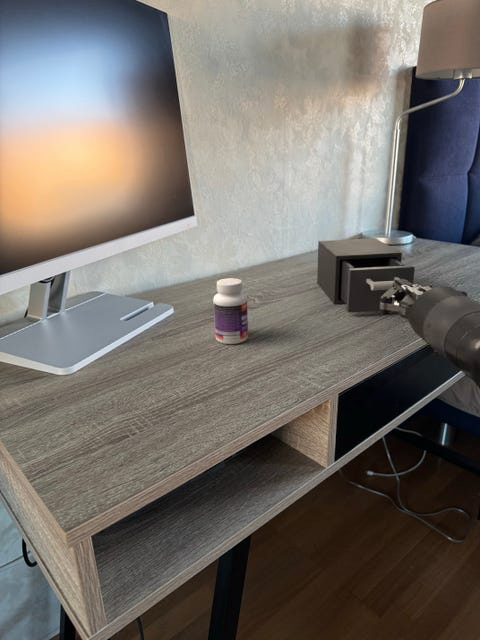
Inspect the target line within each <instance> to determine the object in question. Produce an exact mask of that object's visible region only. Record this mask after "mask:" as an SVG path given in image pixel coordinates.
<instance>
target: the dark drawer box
mask: <svg viewBox="0 0 480 640" xmlns="http://www.w3.org/2000/svg"><path fill="white" fill-rule="evenodd" d="M415 271H416V266H414V265H412V264H410V265H409V264H408V265H405V264H404V263H403V262H402V261H401V262H399V261H398V260H396V259H394V258H392V257H386V258H367V259H348V260H340V273H339V296H340V297H341V299H342V300H343V301H344V302H345V303H346V304H345V305H346V307H345V308H346V309H345V310H346V312H347V313H363V312H379V311H380V299H381V296H382V295H383V294H384V293H386V292H387V291H388V290H389V289H390V288H392V286H393V283H394V281H395V280H398V279H405V280H407V281H408V282H410V283H412V284H413V285H414V279H415ZM398 303H400V301H398Z"/></svg>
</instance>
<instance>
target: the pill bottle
mask: <svg viewBox="0 0 480 640" xmlns="http://www.w3.org/2000/svg"><path fill="white" fill-rule="evenodd" d="M242 291H243V280H241V279H240V278H232V277H231V278H230V277H229V278H222V279H219V280H217V281H216V292H218V293H216V294H215V295H214V296H213V299H212V300H213V303H212V304H213V317H214V320H213V321H214V334H215V339H216V341H217V342H219V343H221V344H224V345H236V344H241V343H243V342H245V341H246V340H247V339H248V338H249V320H248V319H249V318H248V317H249V316H248V297H247V294H245V293H244V292H242Z"/></svg>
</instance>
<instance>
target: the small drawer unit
mask: <svg viewBox="0 0 480 640" xmlns="http://www.w3.org/2000/svg"><path fill="white" fill-rule="evenodd" d="M317 243H318V244H317V276H316V277H317V278H316V283H317V285H318V286H319V288H320V289H321V290H322V292H323V293H324V294H325V295H326V296H327V297H328V299H329V300H330V301H331V302H332V304H333V305H347V304H346V303H345V302H344V301H343V300H342V299H341V297H340V296H339V273H340V260H348V259H367V258H386V257H392V258H394V259H396V260H398V261H399V262H401V263H402V255H403V252H401V251H400V250H398V249H396V248H394V247H392V246H391V245H388V244H386V243H385V242H383V241H380V240H379V239H378V238H375V237H373V238H372V237H371V238H355V239H354V238H352V239H333V240H318V241H317Z"/></svg>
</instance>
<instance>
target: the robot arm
mask: <svg viewBox="0 0 480 640" xmlns="http://www.w3.org/2000/svg"><path fill="white" fill-rule="evenodd" d="M398 301H400V303H398ZM394 312H397V314H398V315H399V316H400V317H401V318H404V319H406V320H407V321H408V323H409V324H410V327H411V328H412V330H413V332H414V333H415V334H416V335H417V336H418V337H419V338H420V339H422V341H424V342H425V344H427V345H428V346H429V347H430V348H432V350H434V351H435V352H436V353H437V354H438V355H440V356H441V357H442V358H443V359H445V360H446V361H449V362H450V363H452V364H453V365H454V366H455V367H456V368H458V370H459V371H461V372H462V373H463V374H464V375H465V376H466V377H468V378H469V379H471V380H472V381H473V382H474V384H475V385H476V387H478V389H479V390H480V302H478V301H476V300H475V299H473V298H471V297H469V295H468V292H467V291H464V290H458V289H456V288H453V287H450V286H436V285H432V284H426V285H425V286H423V285H420V284H417V283H416V284H414V283H413V284H412V283H410V282H408V281H407V280H405V279H398V280H395V281H394V283H393V286H392V288H390V289H389V290H388V291H387V292H386V293H384V294H383V295H382V296H381V299H380V311H378V313H379V315H382V316H387V315H389V314H390V313H394Z"/></svg>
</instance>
